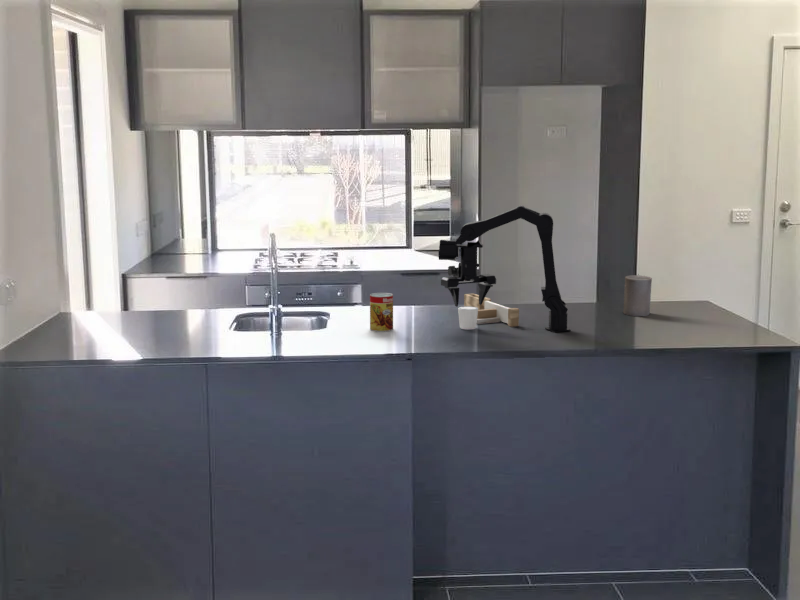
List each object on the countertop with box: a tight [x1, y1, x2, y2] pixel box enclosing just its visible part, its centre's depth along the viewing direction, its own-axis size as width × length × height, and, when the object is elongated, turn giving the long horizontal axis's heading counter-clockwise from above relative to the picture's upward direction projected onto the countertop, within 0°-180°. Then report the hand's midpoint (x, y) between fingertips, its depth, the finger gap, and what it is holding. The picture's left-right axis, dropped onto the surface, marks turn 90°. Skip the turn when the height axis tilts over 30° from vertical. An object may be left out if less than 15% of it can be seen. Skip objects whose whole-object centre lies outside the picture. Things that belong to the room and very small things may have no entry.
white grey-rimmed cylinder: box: [457, 305, 478, 331], centre depth 324 cm, size 7×7×7 cm
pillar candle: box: [622, 273, 653, 317], centre depth 348 cm, size 10×10×15 cm
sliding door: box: [477, 301, 510, 325], centre depth 335 cm, size 18×9×5 cm, turn 24°
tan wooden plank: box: [463, 293, 520, 328], centre depth 340 cm, size 34×12×6 cm, turn 24°
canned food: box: [369, 292, 394, 332], centre depth 321 cm, size 8×8×12 cm
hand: (468, 305), depth 323 cm, fingers open, 9 cm apart
